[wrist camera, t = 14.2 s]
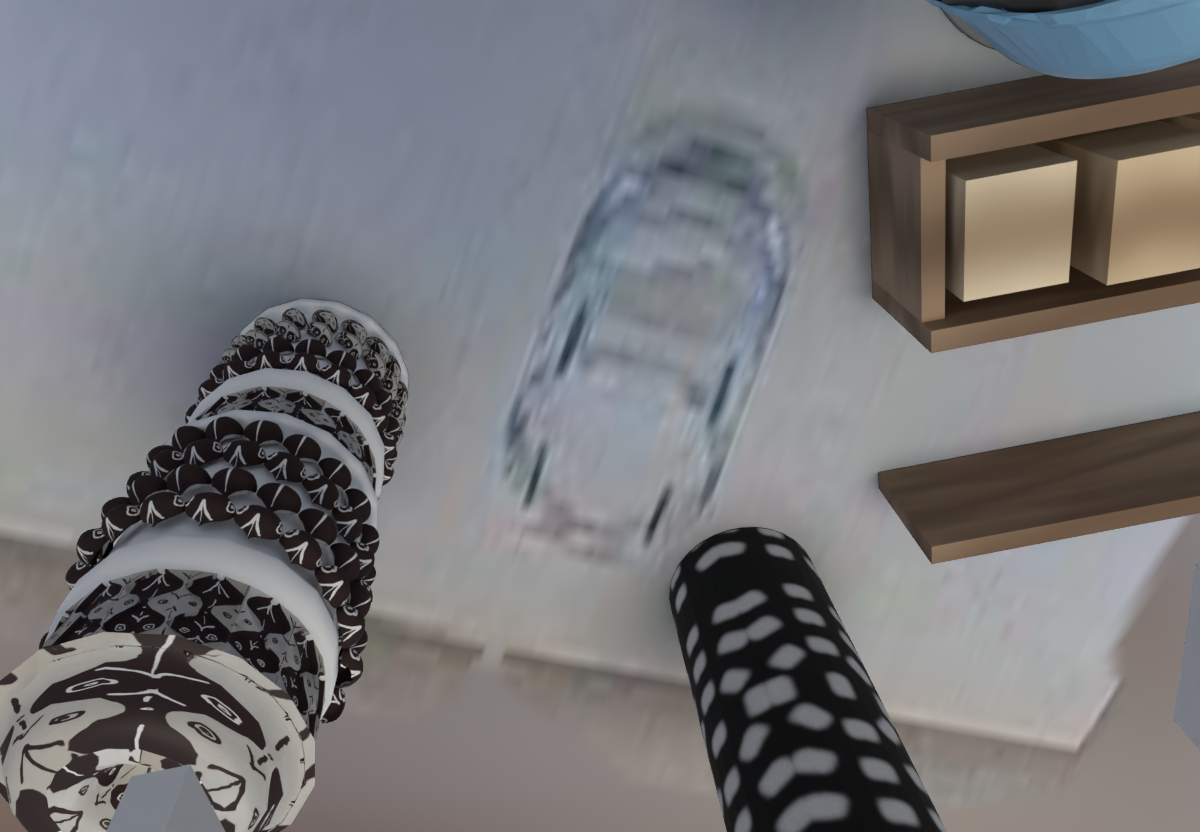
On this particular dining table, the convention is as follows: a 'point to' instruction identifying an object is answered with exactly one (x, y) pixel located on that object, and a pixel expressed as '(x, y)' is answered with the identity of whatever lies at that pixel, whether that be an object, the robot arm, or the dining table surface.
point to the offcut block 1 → (1008, 221)
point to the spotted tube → (787, 696)
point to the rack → (1021, 320)
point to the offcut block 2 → (1134, 200)
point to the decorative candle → (220, 588)
